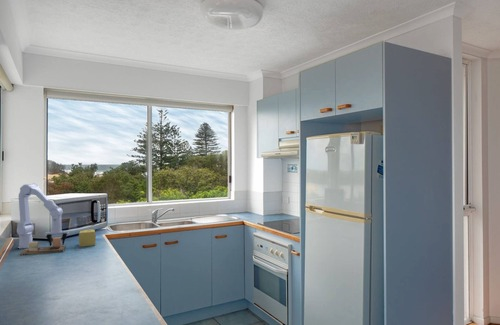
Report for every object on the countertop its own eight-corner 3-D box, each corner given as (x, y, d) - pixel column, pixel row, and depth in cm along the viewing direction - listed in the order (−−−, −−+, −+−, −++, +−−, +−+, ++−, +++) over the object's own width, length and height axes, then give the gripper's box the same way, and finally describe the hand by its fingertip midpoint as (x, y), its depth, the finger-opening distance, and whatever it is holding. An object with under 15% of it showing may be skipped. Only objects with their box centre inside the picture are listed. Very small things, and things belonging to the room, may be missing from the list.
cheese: (79, 243, 250) (79, 230, 250) (95, 242, 255) (95, 228, 255) (78, 247, 241) (78, 232, 241) (95, 245, 245) (95, 231, 245)
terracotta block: (54, 246, 241) (54, 237, 241) (61, 246, 243) (61, 237, 243) (52, 248, 237) (52, 239, 237) (60, 247, 238) (59, 238, 238)
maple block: (30, 251, 229) (30, 241, 229) (38, 251, 230) (38, 241, 230) (28, 253, 225) (28, 243, 224) (36, 252, 226) (36, 242, 226)
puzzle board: (25, 250, 231) (25, 248, 231) (65, 247, 238) (65, 245, 238) (20, 255, 220) (20, 252, 220) (62, 251, 228) (62, 249, 228)
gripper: (69, 223, 246) (69, 242, 246) (46, 225, 241) (46, 244, 241) (67, 225, 239) (67, 245, 239) (43, 226, 234) (44, 246, 235)
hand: (57, 245), depth 240 cm, fingers open, 7 cm apart
